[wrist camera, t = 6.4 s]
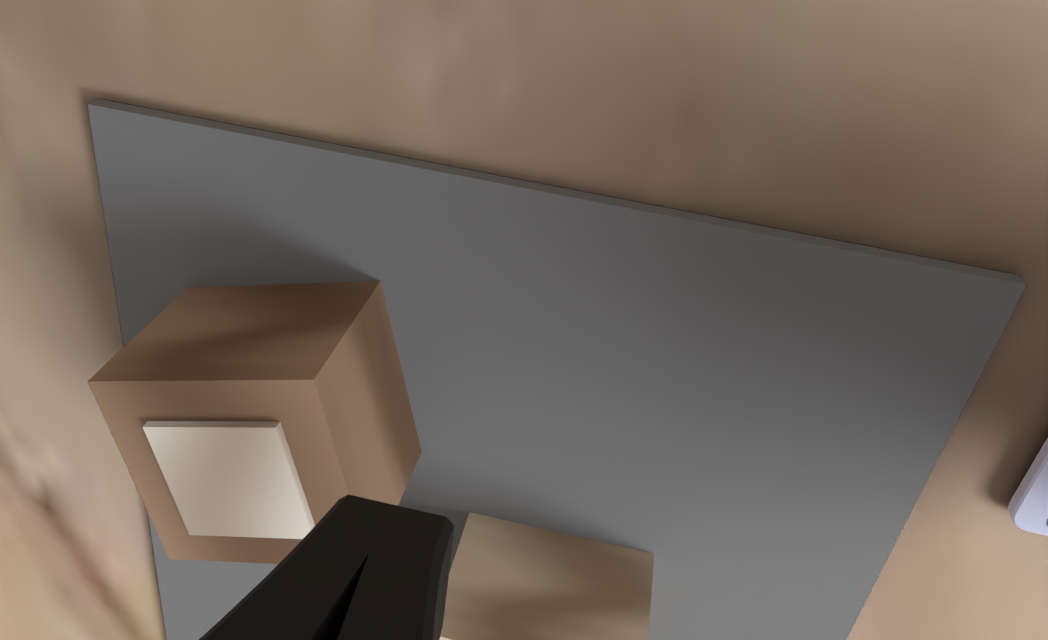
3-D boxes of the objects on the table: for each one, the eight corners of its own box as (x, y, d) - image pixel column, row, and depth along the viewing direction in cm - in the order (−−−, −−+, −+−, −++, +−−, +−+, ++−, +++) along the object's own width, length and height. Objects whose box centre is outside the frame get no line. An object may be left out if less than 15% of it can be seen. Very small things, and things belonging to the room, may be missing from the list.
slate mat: (1020, 275, 18) (1026, 284, 17) (724, 866, 30) (725, 878, 30) (98, 98, 19) (87, 104, 19) (186, 729, 32) (181, 739, 32)
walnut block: (380, 280, 20) (309, 386, 16) (421, 451, 22) (368, 574, 19) (186, 287, 21) (81, 387, 17) (246, 449, 23) (164, 565, 20)
